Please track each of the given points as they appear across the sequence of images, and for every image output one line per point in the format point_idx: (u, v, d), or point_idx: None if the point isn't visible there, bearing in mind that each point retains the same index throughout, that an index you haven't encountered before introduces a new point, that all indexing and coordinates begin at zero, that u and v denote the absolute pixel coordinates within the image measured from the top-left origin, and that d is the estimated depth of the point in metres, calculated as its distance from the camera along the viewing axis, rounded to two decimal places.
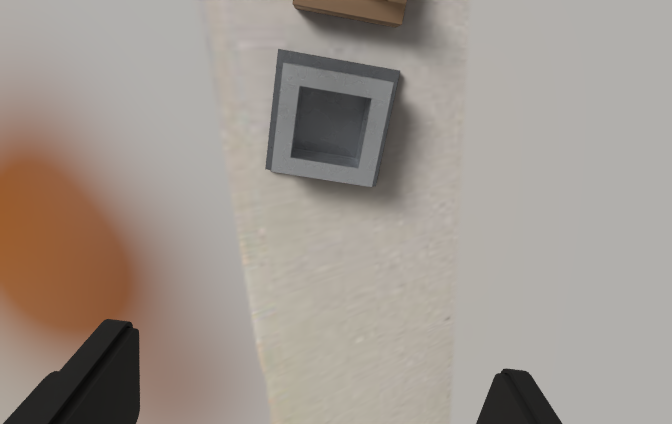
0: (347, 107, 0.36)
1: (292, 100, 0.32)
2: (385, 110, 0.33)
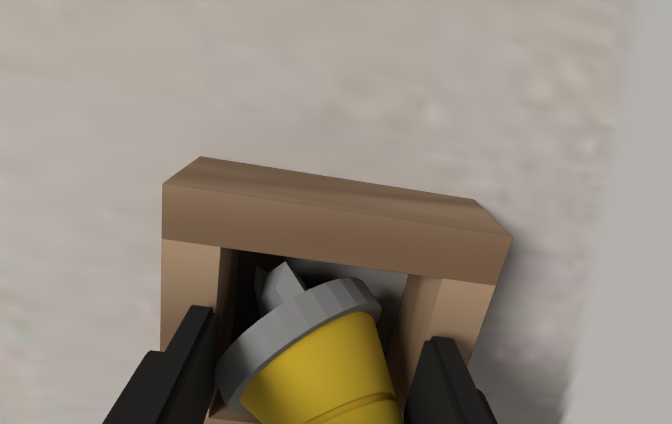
0: None
1: None
2: None
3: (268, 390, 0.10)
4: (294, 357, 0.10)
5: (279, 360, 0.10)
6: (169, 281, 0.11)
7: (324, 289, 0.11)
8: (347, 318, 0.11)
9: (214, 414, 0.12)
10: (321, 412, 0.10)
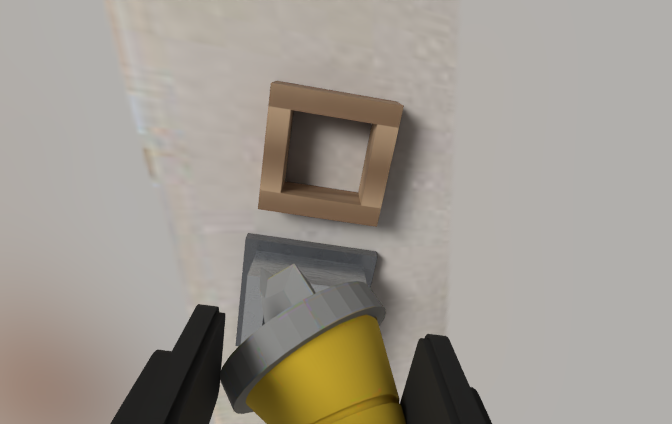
0: None
1: (258, 308, 0.30)
2: None
3: (276, 391, 0.10)
4: (303, 358, 0.10)
5: (288, 361, 0.10)
6: (269, 125, 0.27)
7: (333, 292, 0.11)
8: (355, 321, 0.11)
9: (282, 192, 0.29)
10: (328, 413, 0.10)
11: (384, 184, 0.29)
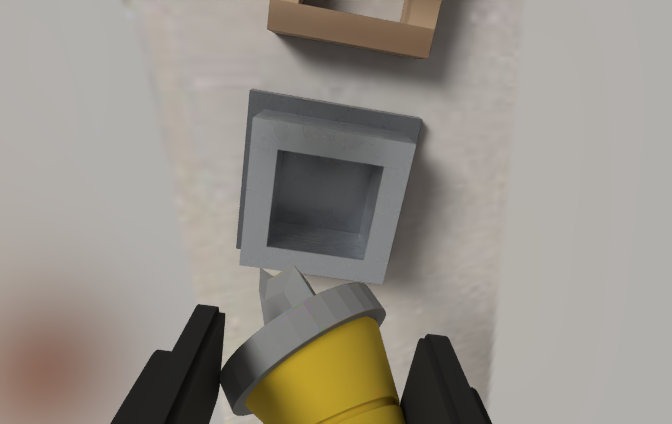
0: (348, 168, 0.26)
1: (267, 170, 0.22)
2: (403, 183, 0.22)
3: (276, 393, 0.10)
4: (303, 360, 0.10)
5: (288, 363, 0.10)
6: None
7: (333, 294, 0.11)
8: (355, 323, 0.11)
9: (301, 4, 0.21)
10: (328, 415, 0.10)
11: None
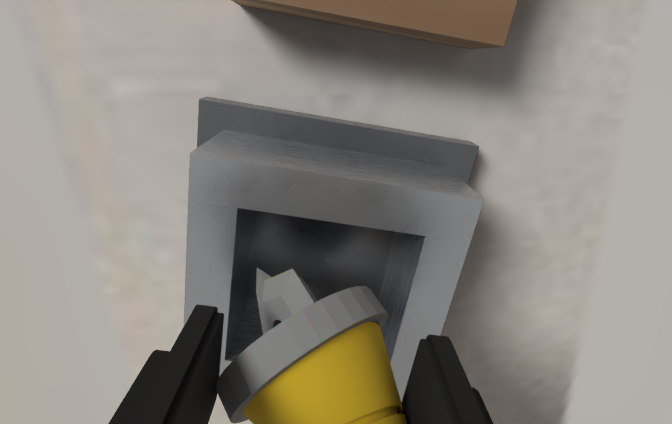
0: None
1: (220, 242, 0.13)
2: (458, 263, 0.13)
3: (275, 404, 0.10)
4: (303, 371, 0.10)
5: (287, 374, 0.10)
6: None
7: (334, 300, 0.10)
8: (357, 330, 0.10)
9: None
10: None
11: None
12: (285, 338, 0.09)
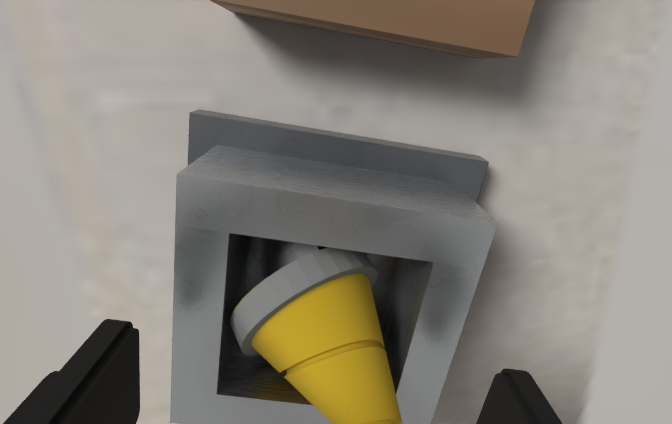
0: None
1: (211, 269, 0.12)
2: (469, 290, 0.12)
3: (283, 328, 0.12)
4: (309, 301, 0.12)
5: (296, 303, 0.12)
6: None
7: (336, 250, 0.13)
8: (353, 277, 0.13)
9: None
10: (327, 349, 0.12)
11: None
12: (297, 273, 0.12)
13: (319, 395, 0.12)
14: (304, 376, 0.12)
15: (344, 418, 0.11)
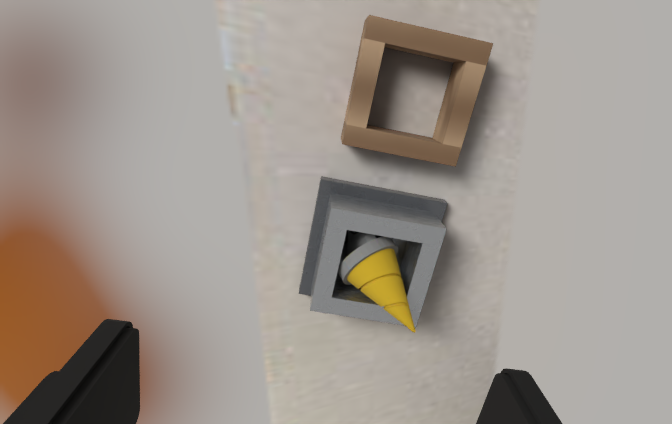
0: None
1: (338, 243, 0.30)
2: (436, 255, 0.31)
3: (364, 267, 0.30)
4: (374, 257, 0.30)
5: (369, 257, 0.30)
6: (363, 58, 0.28)
7: (384, 238, 0.31)
8: (390, 249, 0.31)
9: (367, 128, 0.30)
10: (381, 275, 0.30)
11: (467, 123, 0.29)
12: (370, 246, 0.30)
13: (377, 293, 0.30)
14: (372, 286, 0.30)
15: (387, 301, 0.30)
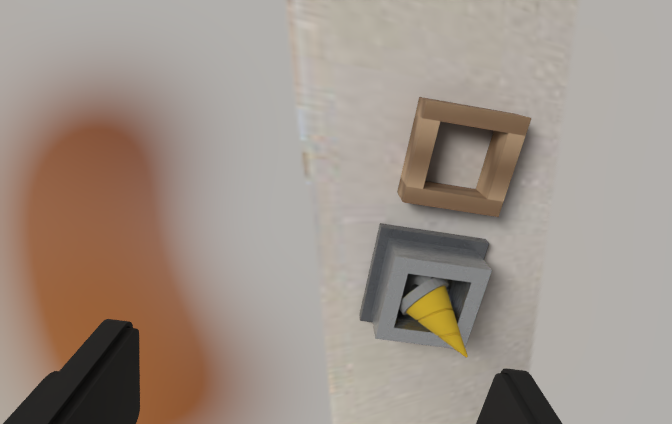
0: None
1: (400, 284, 0.36)
2: (482, 291, 0.36)
3: (422, 303, 0.36)
4: (430, 295, 0.36)
5: (426, 295, 0.36)
6: (421, 133, 0.33)
7: None
8: (442, 286, 0.37)
9: (424, 188, 0.35)
10: (437, 310, 0.36)
11: (508, 181, 0.35)
12: (427, 285, 0.36)
13: (434, 325, 0.36)
14: (429, 319, 0.36)
15: (443, 332, 0.36)
